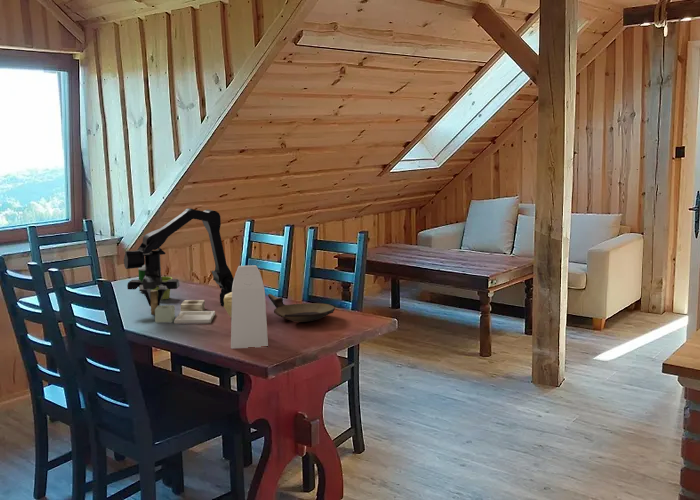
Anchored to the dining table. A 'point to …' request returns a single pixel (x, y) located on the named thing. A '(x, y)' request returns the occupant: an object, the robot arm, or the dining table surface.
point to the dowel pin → (154, 300)
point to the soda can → (142, 274)
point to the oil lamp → (301, 310)
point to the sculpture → (228, 303)
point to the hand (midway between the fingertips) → (154, 306)
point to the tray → (194, 317)
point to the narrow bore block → (164, 313)
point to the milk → (248, 309)
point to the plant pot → (167, 292)
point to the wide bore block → (193, 305)
